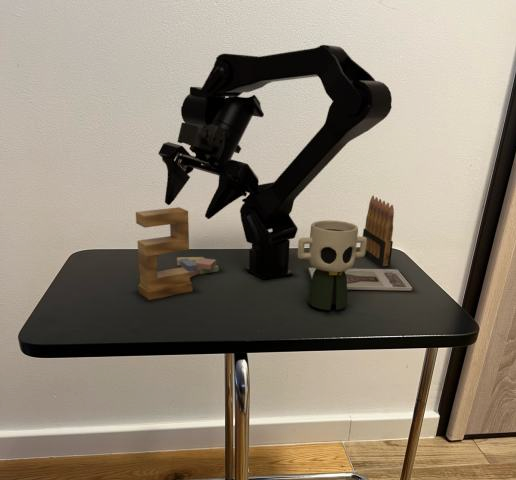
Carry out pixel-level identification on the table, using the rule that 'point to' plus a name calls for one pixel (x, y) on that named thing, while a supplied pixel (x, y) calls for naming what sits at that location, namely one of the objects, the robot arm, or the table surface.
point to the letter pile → (197, 265)
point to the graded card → (374, 279)
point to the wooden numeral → (166, 280)
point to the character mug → (331, 261)
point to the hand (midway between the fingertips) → (186, 210)
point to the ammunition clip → (379, 232)
